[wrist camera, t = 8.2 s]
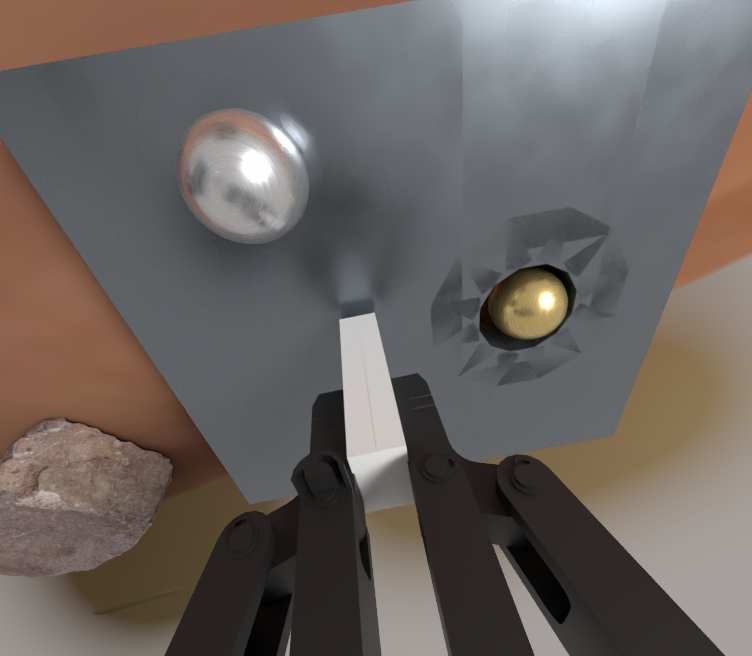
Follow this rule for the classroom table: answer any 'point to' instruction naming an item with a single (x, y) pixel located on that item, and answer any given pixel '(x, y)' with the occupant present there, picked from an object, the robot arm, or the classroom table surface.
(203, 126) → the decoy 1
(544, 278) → the brass ball
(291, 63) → the plate
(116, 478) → the stone
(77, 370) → the classroom table surface
